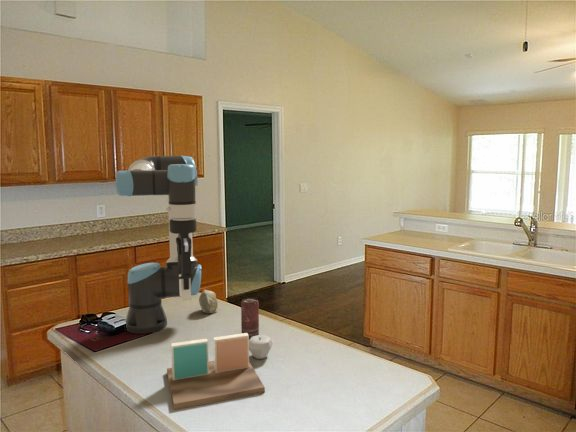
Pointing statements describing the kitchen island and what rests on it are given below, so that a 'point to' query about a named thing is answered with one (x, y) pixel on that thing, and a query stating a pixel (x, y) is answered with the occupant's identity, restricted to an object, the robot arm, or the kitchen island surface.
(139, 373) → the kitchen island surface
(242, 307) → the can
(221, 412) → the kitchen island surface
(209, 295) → the grey rock
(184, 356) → the square block
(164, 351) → the kitchen island surface
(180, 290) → the robot arm
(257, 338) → the apple
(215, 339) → the tile cream
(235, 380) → the board
